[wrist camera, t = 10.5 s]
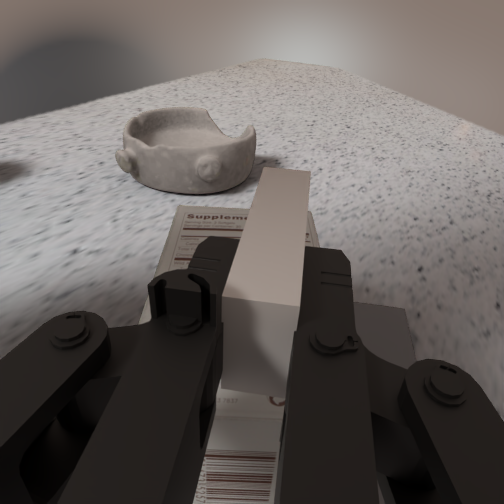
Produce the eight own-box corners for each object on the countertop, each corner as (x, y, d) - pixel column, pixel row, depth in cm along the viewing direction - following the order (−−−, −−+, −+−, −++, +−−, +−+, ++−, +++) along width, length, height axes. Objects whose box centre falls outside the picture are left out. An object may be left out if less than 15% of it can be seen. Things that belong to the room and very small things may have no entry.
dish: (173, 140, 53) (170, 99, 50) (274, 163, 48) (278, 119, 46) (90, 181, 42) (81, 132, 39) (212, 215, 37) (212, 162, 34)
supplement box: (130, 533, 16) (181, 308, 26) (328, 539, 16) (299, 313, 26) (99, 408, 12) (174, 201, 22) (366, 418, 12) (314, 208, 22)
